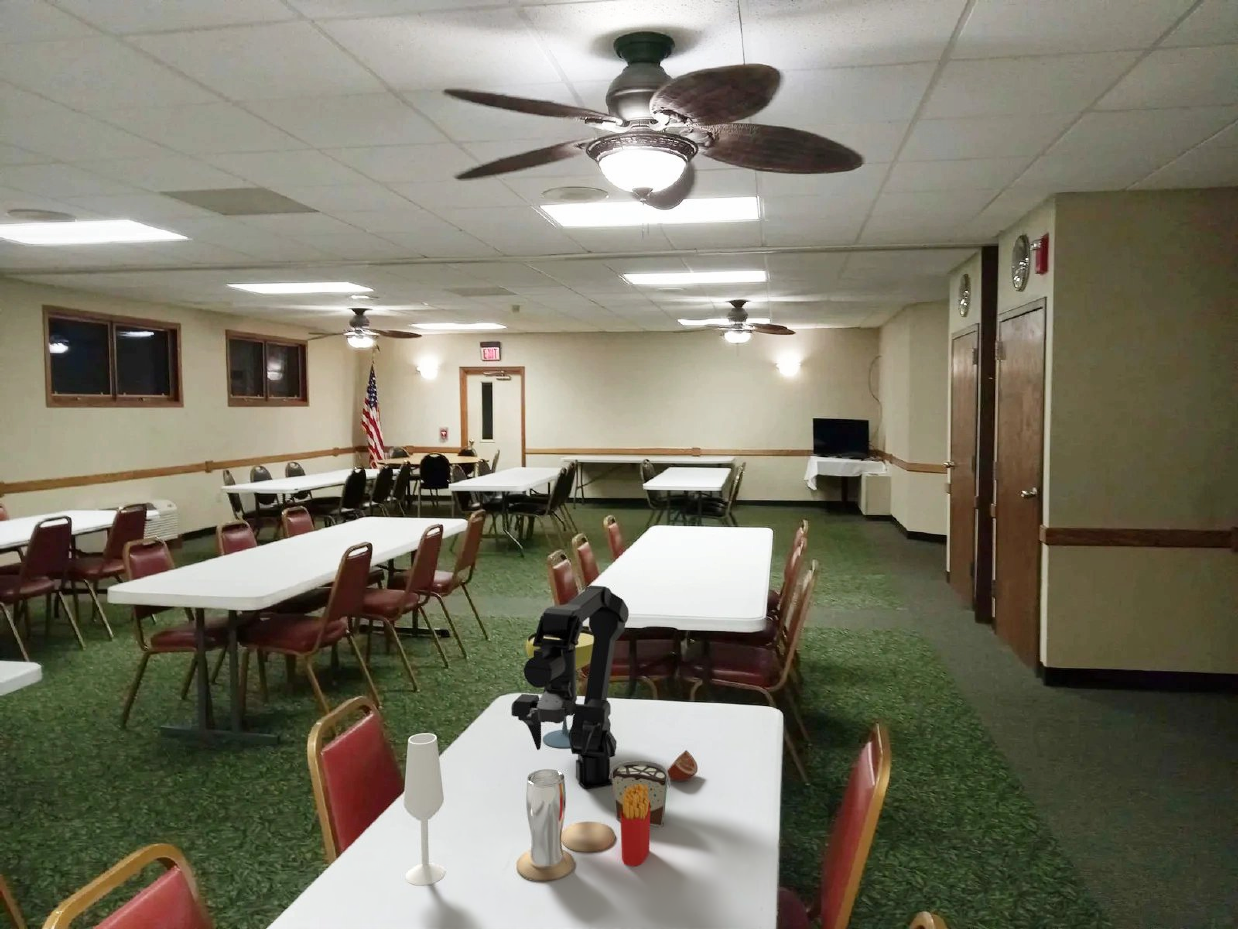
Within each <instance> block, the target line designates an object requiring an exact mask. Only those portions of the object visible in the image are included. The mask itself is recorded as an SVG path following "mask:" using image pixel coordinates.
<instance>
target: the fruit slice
mask: <svg viewBox="0 0 1238 929" xmlns="http://www.w3.org/2000/svg"><path fill="white" fill-rule="evenodd" d="M697 763H698V762H697V761H696V759H695V757H694V756H692V754H691V753H690V752H689V751H688V750H687V749H686V750H684V751H683V752H682V753H681V754H679V755H678V757H677V758H676V759H675V760H674V761H673V763H672V764H671V765H670V766H669V767H668V768H667V769H666V770H667V772H668V774H669V777H670V780H673V781H677V782H682V781H685V780H688V779H689V780H690V779H691V778H693V777H694V776H696V774H697V772H698V764H697Z"/></svg>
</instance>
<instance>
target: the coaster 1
mask: <svg viewBox="0 0 1238 929" xmlns="http://www.w3.org/2000/svg"><path fill="white" fill-rule="evenodd" d="M530 852H531V849H529V850H527V851H525V852H524V853H522V854H521V855H520V856H519V857H518V859H517V860H516V870H517V873H518V874H519V875H520V876H521V877H522V878H524V877H525V878H524V879H526V878H527V880H529V879H531V880H530V881H533V880H534V881H533V882H552V881H556V880H560V879H562V878H564V877H566V876H567V875H569V874H570V873H571V872H572V871H573V869H574V864H575V860H574V857H573V855H572V854H571V853H570V852H569V851H568V850H565V849H563V854H564V861H563V862H562V864H561V865H559V866H557V867H555V868H552V869H539V868H536V867H534V866H532V865H531V864H530V861H529V858H530Z"/></svg>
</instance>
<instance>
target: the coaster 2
mask: <svg viewBox="0 0 1238 929" xmlns="http://www.w3.org/2000/svg"><path fill="white" fill-rule="evenodd" d="M615 839H616V834H615V830H614V829H613V828H612V827H611V826H609V825H608V824H605V823H602V822H598V821H580V822H576V823H573V824H571V825H568V826H567V827H565V828H564V829H562V839H561V840H562V846H564V847H566V848H567V849H569V850H571V851H574V852H578V853H579V852H580V853H594V852H598V851H599V852H600V851H602V850H605V849H607V848H609V847H610V846H612V845H613V843H614V842H615Z"/></svg>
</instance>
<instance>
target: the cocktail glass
mask: <svg viewBox="0 0 1238 929" xmlns="http://www.w3.org/2000/svg"><path fill="white" fill-rule="evenodd" d="M535 635H536V632H534V633H532V634H530V635H529V636H528V637H527V640H526V644H525V647H526V648H525V650H526V654H527V656H528V657H529V659H530V658H532V657H534V650H536V649H540V647H534V646H533V642H534V638H535ZM544 638H548V639H558V640H559V638H550V637H545V636H544ZM593 641H594V637H593V634H592V632H591V630H588V629H583V630H582V631H581V633H580V636H579V639H578V642H579V643H578V645H576V646H575V647H576V670H579V669H581V668H583V667H585V666H587V665H590V661H591V654H592V648H593ZM569 732H570V729H568V722H567V717H564V720H563V722H562V729H557V730H553V731H550V732H548V733H546V734H545V735H543V737H542V741H543V743H544V744H545V745H546V746H549V747H550V748H551V747H552V748H555V747H556V749H569V748H570V749H571V747H570V741H569Z"/></svg>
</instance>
